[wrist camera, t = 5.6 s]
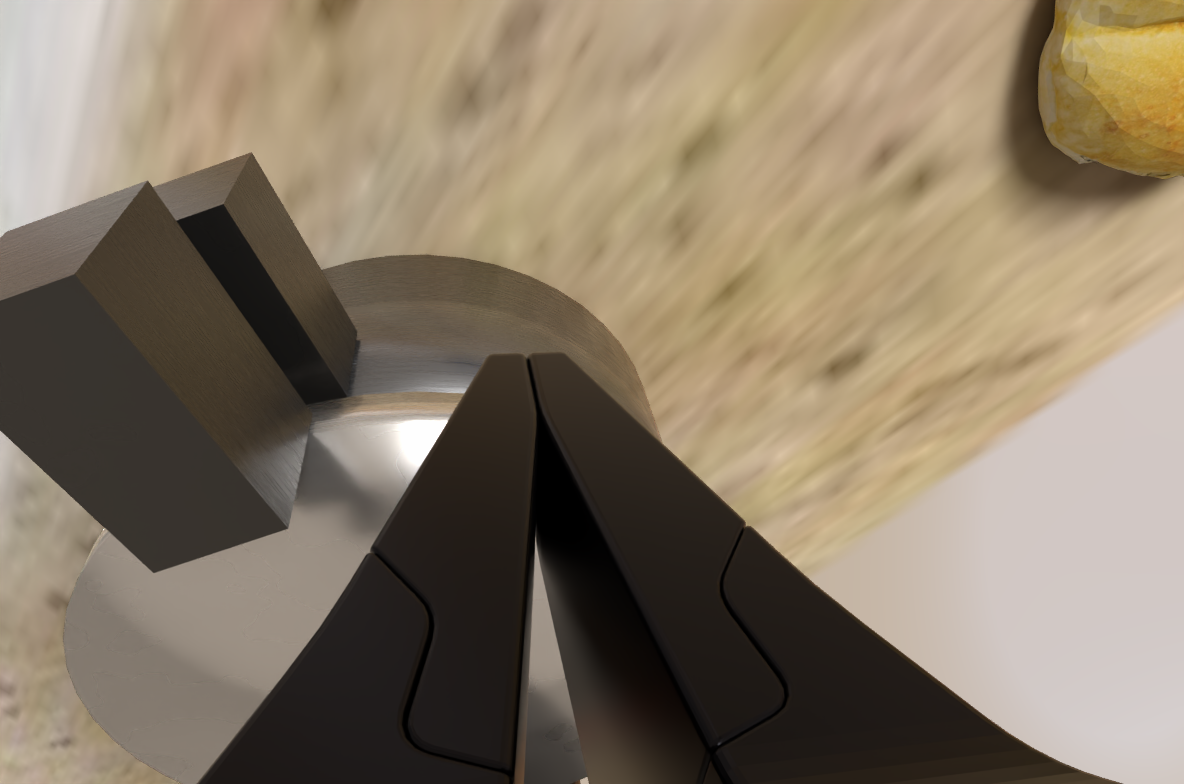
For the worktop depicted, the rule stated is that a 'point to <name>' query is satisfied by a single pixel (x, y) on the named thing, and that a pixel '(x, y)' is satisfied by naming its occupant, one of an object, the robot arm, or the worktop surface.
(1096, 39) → the bread roll
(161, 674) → the cooker lid
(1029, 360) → the worktop surface
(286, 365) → the cooker pot
